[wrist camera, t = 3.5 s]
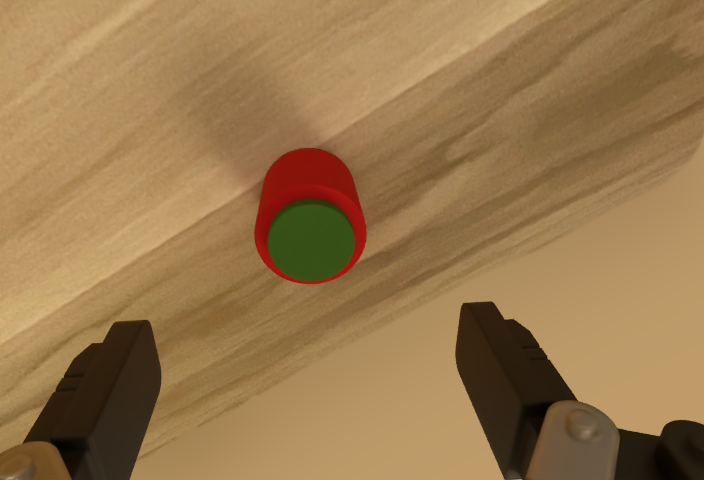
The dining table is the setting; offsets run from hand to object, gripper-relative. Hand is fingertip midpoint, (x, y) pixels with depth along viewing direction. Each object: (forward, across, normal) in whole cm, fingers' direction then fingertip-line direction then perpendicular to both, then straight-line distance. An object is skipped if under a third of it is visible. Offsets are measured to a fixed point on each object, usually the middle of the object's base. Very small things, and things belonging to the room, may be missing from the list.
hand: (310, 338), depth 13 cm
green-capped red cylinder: (+11, 0, 0) cm, 11 cm away
